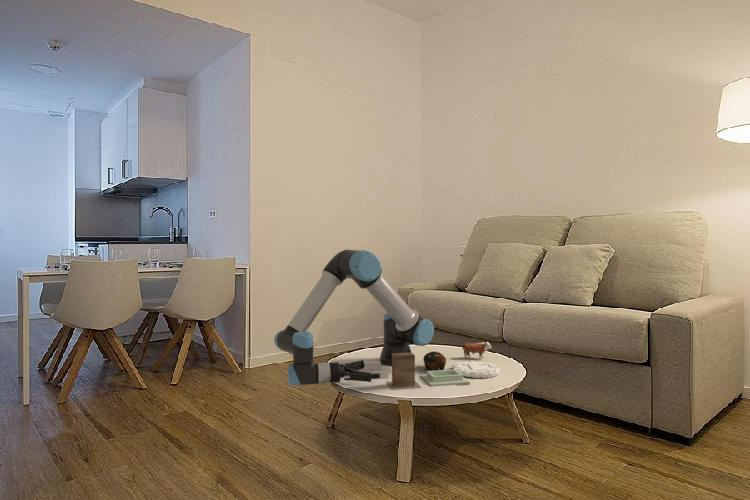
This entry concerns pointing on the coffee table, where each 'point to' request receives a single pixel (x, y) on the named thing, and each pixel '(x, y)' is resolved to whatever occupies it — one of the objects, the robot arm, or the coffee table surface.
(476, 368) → the white textured flat disc
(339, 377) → the robot arm
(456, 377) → the tray
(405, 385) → the brown wooden block
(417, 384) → the mat
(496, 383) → the coffee table surface
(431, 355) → the decorative turtle
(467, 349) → the bull figurine
